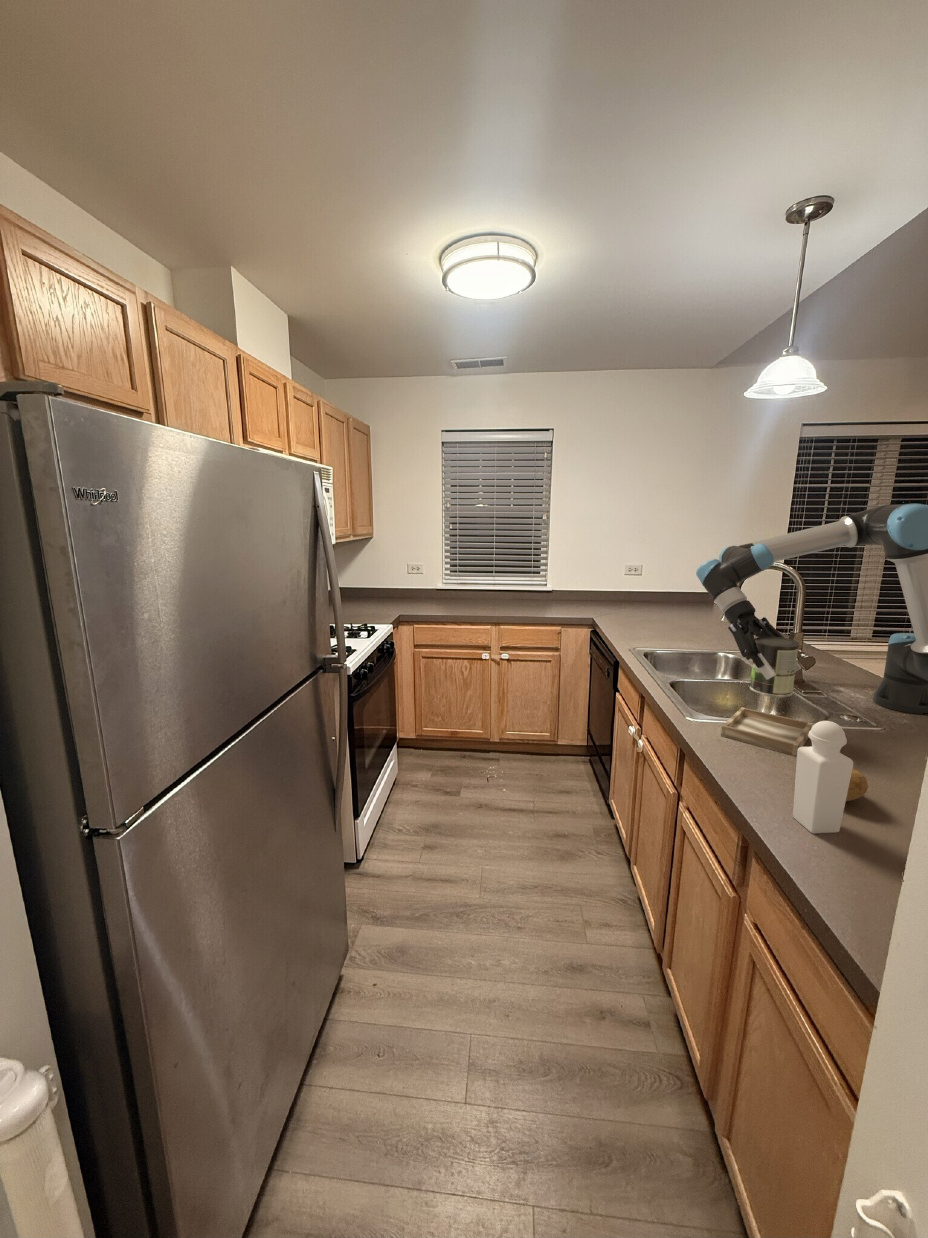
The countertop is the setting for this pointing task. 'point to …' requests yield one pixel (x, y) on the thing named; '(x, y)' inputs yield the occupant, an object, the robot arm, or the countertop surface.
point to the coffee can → (775, 666)
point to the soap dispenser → (822, 779)
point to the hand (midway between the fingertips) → (784, 673)
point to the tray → (767, 730)
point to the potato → (856, 785)
